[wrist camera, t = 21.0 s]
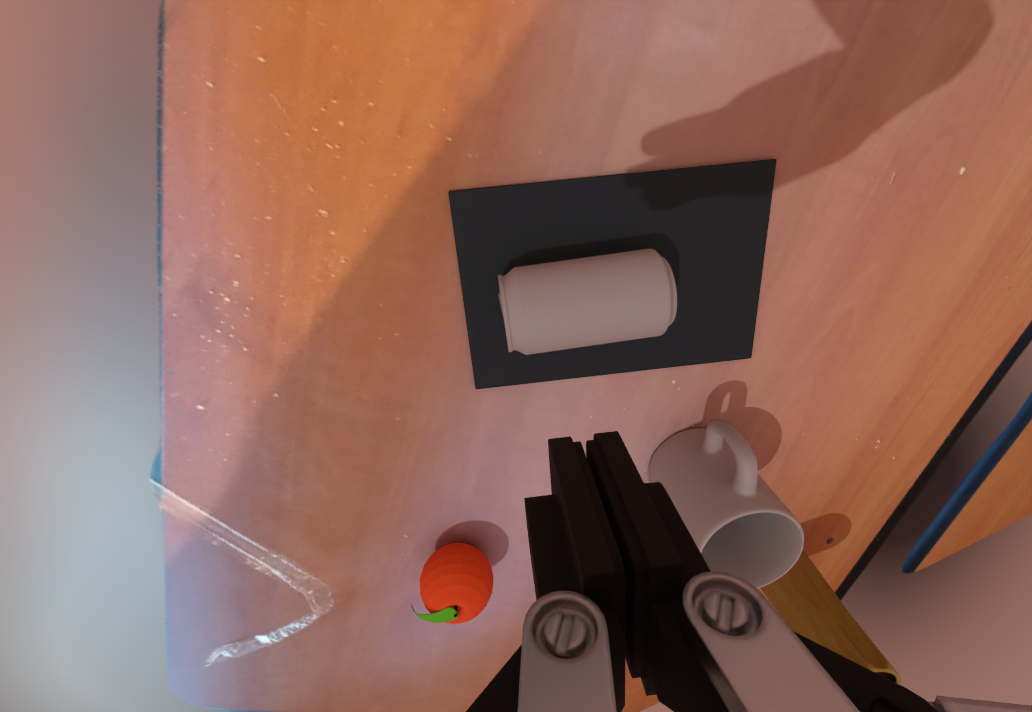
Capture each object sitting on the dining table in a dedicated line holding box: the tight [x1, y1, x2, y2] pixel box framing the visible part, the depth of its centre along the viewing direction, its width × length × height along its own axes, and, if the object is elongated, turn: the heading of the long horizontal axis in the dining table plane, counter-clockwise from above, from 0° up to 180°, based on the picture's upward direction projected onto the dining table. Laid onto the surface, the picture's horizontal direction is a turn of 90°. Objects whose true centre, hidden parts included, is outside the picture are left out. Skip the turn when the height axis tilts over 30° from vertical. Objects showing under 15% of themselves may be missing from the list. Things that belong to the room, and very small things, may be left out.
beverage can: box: [498, 249, 677, 355], centre depth 34 cm, size 6×6×12 cm
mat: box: [449, 159, 776, 389], centre depth 38 cm, size 24×16×1 cm, turn 95°
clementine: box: [411, 543, 493, 624], centre depth 45 cm, size 8×7×7 cm
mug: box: [649, 419, 804, 589], centre depth 40 cm, size 12×8×11 cm
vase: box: [761, 550, 901, 685], centre depth 45 cm, size 6×6×14 cm
